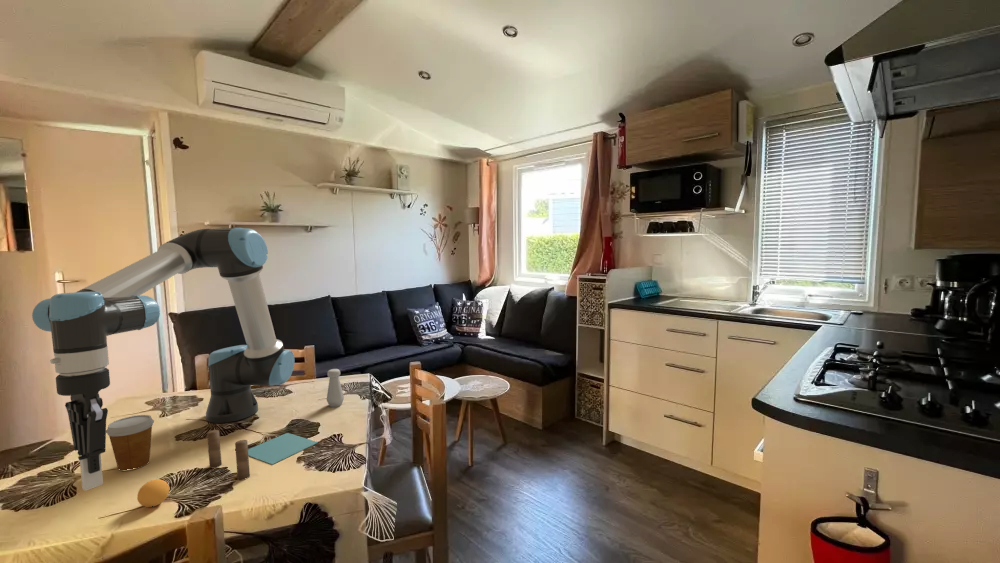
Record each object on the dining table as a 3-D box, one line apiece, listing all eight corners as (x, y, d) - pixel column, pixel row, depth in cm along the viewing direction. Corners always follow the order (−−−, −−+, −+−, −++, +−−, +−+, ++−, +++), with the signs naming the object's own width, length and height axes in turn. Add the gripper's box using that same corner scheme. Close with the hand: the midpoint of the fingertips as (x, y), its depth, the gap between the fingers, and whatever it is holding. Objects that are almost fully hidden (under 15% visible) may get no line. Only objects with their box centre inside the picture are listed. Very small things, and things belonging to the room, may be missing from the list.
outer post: (235, 478, 105) (232, 443, 104) (245, 473, 107) (243, 438, 107) (241, 481, 104) (238, 445, 103) (252, 475, 106) (249, 441, 105)
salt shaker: (346, 402, 156) (345, 367, 155) (339, 408, 150) (337, 372, 149) (331, 402, 156) (329, 367, 155) (323, 407, 151) (321, 372, 150)
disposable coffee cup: (129, 457, 117) (125, 415, 116) (165, 455, 118) (162, 413, 117) (99, 475, 107) (94, 429, 106) (139, 473, 108) (135, 427, 107)
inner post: (207, 466, 111) (205, 433, 110) (218, 461, 113) (215, 429, 113) (213, 468, 110) (210, 435, 109) (223, 464, 112) (221, 431, 111)
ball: (133, 508, 94) (131, 484, 93) (163, 495, 98) (161, 472, 98) (145, 515, 91) (143, 490, 90) (175, 501, 96) (173, 478, 95)
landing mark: (241, 453, 118) (241, 452, 118) (287, 433, 130) (287, 432, 130) (272, 464, 111) (272, 464, 111) (318, 442, 123) (318, 442, 123)
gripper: (43, 371, 83) (54, 487, 85) (69, 380, 77) (80, 505, 79) (94, 362, 90) (103, 470, 92) (121, 370, 84) (130, 485, 85)
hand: (92, 486), depth 85 cm, fingers closed
